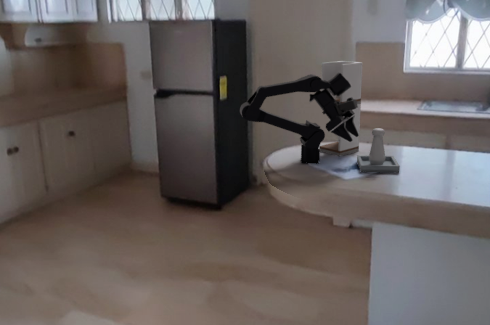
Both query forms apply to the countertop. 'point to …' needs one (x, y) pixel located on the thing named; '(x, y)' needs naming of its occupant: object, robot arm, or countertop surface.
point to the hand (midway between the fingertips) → (354, 138)
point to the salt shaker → (377, 147)
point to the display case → (354, 77)
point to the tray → (387, 167)
